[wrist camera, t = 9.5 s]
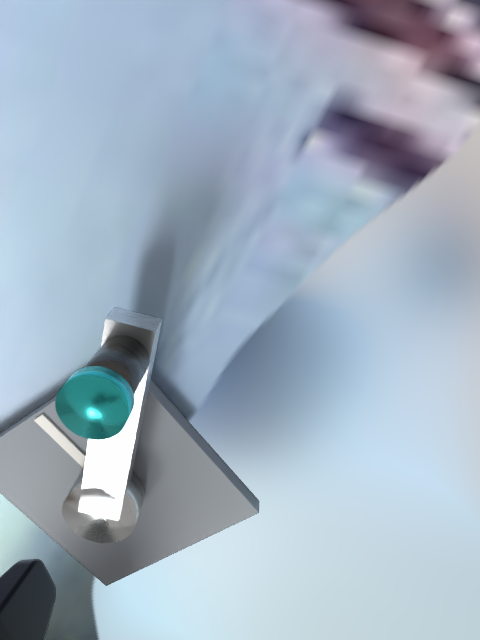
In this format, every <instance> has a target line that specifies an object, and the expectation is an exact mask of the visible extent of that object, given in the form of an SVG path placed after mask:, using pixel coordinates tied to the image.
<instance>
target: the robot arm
mask: <svg viewBox="0 0 480 640" xmlns="http://www.w3.org/2000/svg"><path fill="white" fill-rule="evenodd" d="M55 597H56V588H55V585H54V583H53V581H52V579H51V577H50V575H49V573H48V571H47V569H46V567H45V565H44V564H43V562H42V561H41V560H39V559H31V560H21V561H19V562H17V563H16V564H14V565H13V566H12V567H11V568H10V569H9V570H8V571H7V572H6V573H5V574H3V575H2V576H1V577H0V640H45V636H46V633H47V629H48V625H49V621H50V617H51V614H52V610H53V606H54V602H55Z"/></svg>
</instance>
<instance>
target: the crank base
mask: <svg viewBox="0 0 480 640" xmlns="http://www.w3.org/2000/svg"><path fill="white" fill-rule="evenodd" d="M56 396H57V395H56ZM56 396H55V397H54V398H52V399H51V400H49V401H48V402H46V403H45V404H43V405H42V406H40V407H39V408H37V409H36V410H34V411H33V412H31V413H30V414H28V415H27V416H25V417H24V418H22V419H21V420H19V421H18V422H16V423H15V424H14V425H12V426H11V427H9V428H8V429H6V430H5V431H3V432H2V433H0V493H1V494H2V495H3V496H4V497H5V498H6V499H8V500H9V501H10V502H11V503H12V504H13V505H14V506H16V507H17V508H18V509H19V510H20V511H21V512H22V513H24V514H25V515H26V516H27V517H28V518H29V519H30V520H32V521H33V522H34V523H35V524H36V525H37V526H38V527H39V528H41V529H42V530H43V531H44V532H45V533H46V534H47V535H49V536H50V537H51V538H52V539H53V540H54V541H55V542H57V543H58V544H59V545H60V546H61V547H62V548H63V549H65V550H66V551H67V552H68V553H69V554H70V555H71V556H73V557H74V558H75V559H76V560H77V561H78V562H79V563H81V564H82V565H83V566H84V567H85V568H86V569H87V570H89V571H90V572H91V573H92V574H93V575H94V576H95V577H97V578H98V579H99V580H100V581H101V582H102V583H103V584H105V585H106V586H107V585H109V584H111V583H113V582H115V581H117V580H120V579H122V578H124V577H126V576H128V575H130V574H132V573H134V572H136V571H138V570H140V569H142V568H144V567H147V566H149V565H151V564H153V563H155V562H157V561H159V560H161V559H163V558H165V557H168V556H169V555H172V554H174V553H176V552H178V551H180V550H182V549H184V548H186V547H188V546H191V545H192V544H195V543H197V542H199V541H201V540H203V539H205V538H207V537H209V536H211V535H213V534H216V533H217V532H220V531H222V530H224V529H226V528H228V527H230V526H232V525H234V524H236V523H238V522H241V521H243V520H245V519H247V518H249V517H251V516H253V515H255V514H257V513H259V500H258V499H257V498H256V497H255V496H254V494H253V493H252V492H251V491H250V490H249V489H248V488H247V487H246V486H245V484H244V483H243V482H242V481H241V480H240V479H239V478H238V477H237V475H235V473H234V472H233V471H232V470H231V469H230V468H229V466H228V465H227V464H226V463H225V462H224V461H223V460H222V459H221V458H220V456H219V455H218V454H217V453H216V452H215V451H214V450H213V449H212V447H211V446H210V445H209V444H208V443H207V442H206V441H205V439H204V438H203V437H202V436H201V435H200V434H199V433H198V432H197V430H196V429H195V428H194V427H193V426H192V425H191V424H190V423H189V421H188V420H187V419H186V418H185V417H184V416H183V415H182V414H181V412H180V411H179V410H178V409H177V408H176V407H175V406H174V405H173V403H172V402H171V401H170V400H169V399H168V398H167V397H166V396H165V394H164V393H163V392H162V391H161V390H160V389H159V388H158V387H157V386H156V384H155V383H154V382H153V381H152V380H150V385H149V390H148V395H147V400H146V405H145V410H144V416H143V421H142V426H141V431H140V436H139V441H138V446H137V451H136V456H135V461H134V466H133V471H132V472H133V473H134V474H135V475H136V476H137V477H138V478H139V479H140V481H141V482H142V484H143V487H144V490H145V498H144V501H143V504H142V507H141V510H140V513H139V516H138V519H137V522H136V525H135V527H134V530H133V532H132V533H131V534H130V535H129V536H128V537H127V538H125V539H123V540H121V541H118V542H114V543H97V542H93V541H89V540H87V539H85V538H82V537H81V536H79V535H77V534H76V533H75V532H73V531H72V530H71V529H70V528H69V527H68V525H67V524H66V522H65V520H64V518H63V515H62V505H63V502H64V500H65V498H66V497H67V495H68V493H69V491H70V489H71V488H72V486H73V484H74V482H75V480H76V479H77V477H78V475H79V474H80V472H81V471H82V470H83V469H84V467H85V460H86V452H87V445H88V439H87V438H83V437H81V436H78V435H77V434H75V433H73V432H72V431H70V430H69V429H68V428H67V427H66V426H65V425H64V424H63V423H62V422H61V420H60V418H59V417H58V414H57V412H56V407H55V400H56Z"/></svg>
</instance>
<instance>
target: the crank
mask: <svg viewBox="0 0 480 640" xmlns="http://www.w3.org/2000/svg"><path fill="white" fill-rule="evenodd" d="M161 324H162V319H160V318H156V317H152V316H148V315H144V314H140V313H136V312H133V311H129V310H125V309H121V308H117V307H115V308H114V309H113V310H112V311H111V312H110V313H109V315H108V316H107V317H106V318H105V322H104V330H103V337H102V344H101V348H100V349H99V350H98V352H97V353H96V354H95V355H94V357H93V358H92V359H91V361H90V362H89V363H88V364H87V366H86V367H84V368H81V369H79V370H77V371H76V372H74V373H73V374H72V375H71V377H70V378H69V379H68V380H67V381H66V383H65V384H64V385H63V386H62V388H61V389H60V390H59V392H58V394H57V396H56V400H55V407H56V412H57V414H58V417H59V418H60V420H61V422H62V423H63V424H64V425H65V426H66V427H67V428H68V429H69V430H70V431H72V432H73V433H75V434H77V435H78V436H81V437H83V438H87V439H88V445H87V452H86V460H85V467H84V469H83V470H82V471H81V472H80V474H79V475H78V477H77V479H76V480H75V482H74V484H73V486H72V488H71V489H70V491H69V493H68V495H67V497H66V498H65V500H64V502H63V505H62V515H63V518H64V520H65V522H66V524H67V525H68V527H69V528H70V529H71V530H72V531H73V532H75V533H76V534H77V535H79V536H81V537H82V538H85V539H87V540H89V541H93V542H97V543H114V542H118V541H121V540H123V539H125V538H127V537H128V536H129V535H130V534H131V533H132V532H133V530H134V527H135V525H136V522H137V519H138V516H139V513H140V510H141V507H142V504H143V501H144V498H145V490H144V487H143V484H142V482H141V481H140V479H139V478H138V477H137V476H136V475H135V474H134V473H133V472H132V471H133V466H134V461H135V456H136V451H137V446H138V441H139V436H140V431H141V426H142V421H143V416H144V410H145V405H146V400H147V395H148V390H149V385H150V380H151V375H152V370H153V365H154V360H155V355H156V350H157V344H158V339H159V334H160V329H161Z"/></svg>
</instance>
